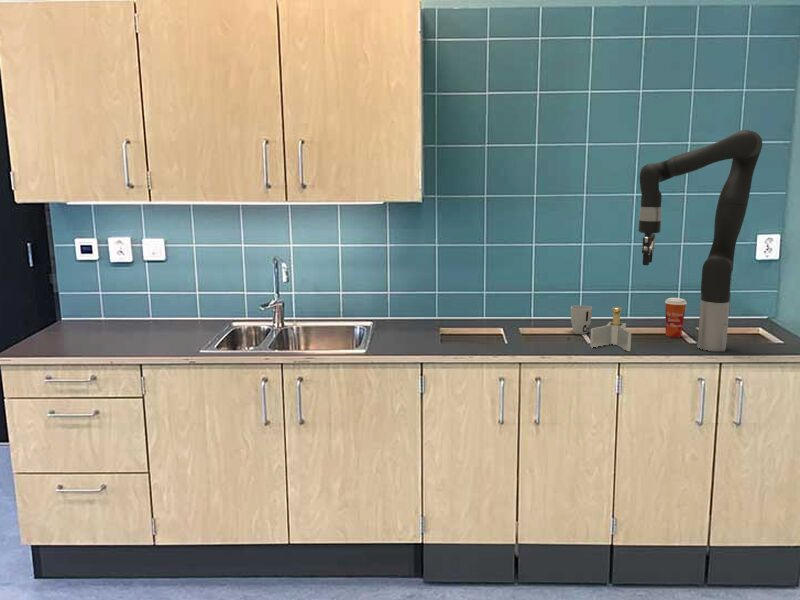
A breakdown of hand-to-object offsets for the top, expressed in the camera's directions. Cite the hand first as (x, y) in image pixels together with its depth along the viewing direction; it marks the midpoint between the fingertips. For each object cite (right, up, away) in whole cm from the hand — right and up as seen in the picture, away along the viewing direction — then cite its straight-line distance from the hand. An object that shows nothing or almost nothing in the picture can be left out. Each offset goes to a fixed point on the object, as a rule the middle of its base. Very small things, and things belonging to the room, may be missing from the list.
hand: (647, 263), depth 265 cm
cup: (-21, -26, +14) cm, 36 cm away
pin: (-12, -29, -2) cm, 32 cm away
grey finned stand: (-14, -30, -6) cm, 33 cm away
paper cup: (+13, -27, +9) cm, 31 cm away
